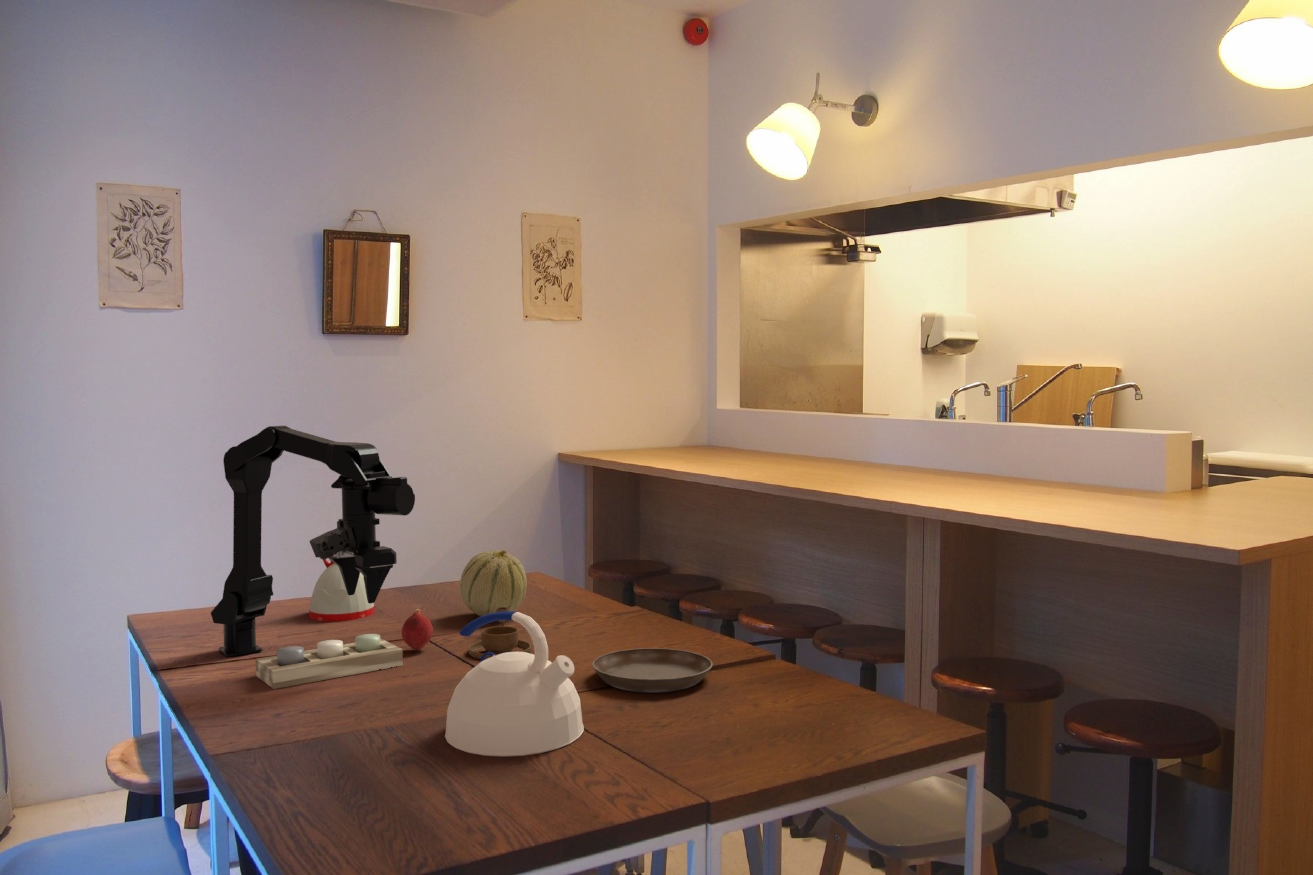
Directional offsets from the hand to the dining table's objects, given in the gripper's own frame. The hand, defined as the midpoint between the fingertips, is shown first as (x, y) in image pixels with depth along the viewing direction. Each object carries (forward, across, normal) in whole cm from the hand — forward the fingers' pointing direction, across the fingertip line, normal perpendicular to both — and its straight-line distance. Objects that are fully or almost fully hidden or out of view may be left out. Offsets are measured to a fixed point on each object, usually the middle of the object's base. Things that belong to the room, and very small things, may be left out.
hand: (360, 598), depth 186 cm
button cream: (+10, -1, -6) cm, 11 cm away
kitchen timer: (+12, -43, +13) cm, 47 cm away
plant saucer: (+13, +40, +35) cm, 55 cm away
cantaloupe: (+12, -19, +38) cm, 44 cm away
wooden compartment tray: (+12, -1, -6) cm, 13 cm away
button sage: (+10, 0, +1) cm, 10 cm away
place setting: (+13, +6, +27) cm, 31 cm away
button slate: (+10, -1, -13) cm, 16 cm away
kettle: (+13, +48, +3) cm, 50 cm away
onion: (+12, -3, +12) cm, 18 cm away
